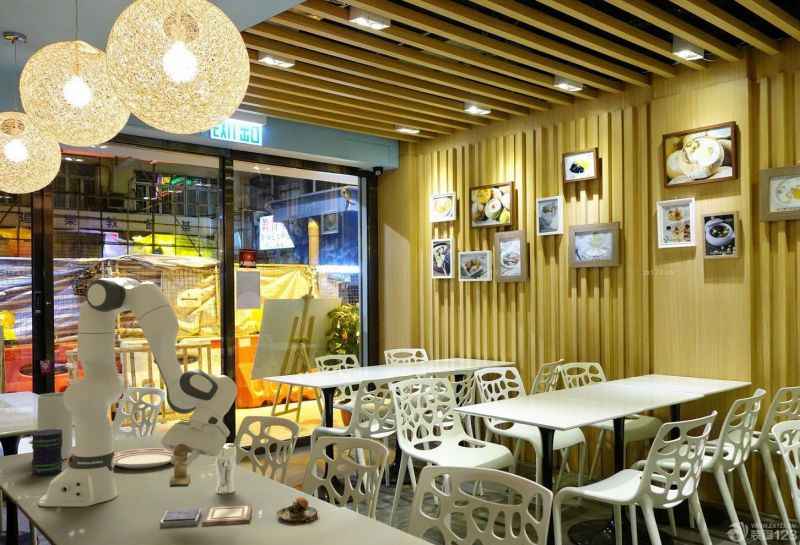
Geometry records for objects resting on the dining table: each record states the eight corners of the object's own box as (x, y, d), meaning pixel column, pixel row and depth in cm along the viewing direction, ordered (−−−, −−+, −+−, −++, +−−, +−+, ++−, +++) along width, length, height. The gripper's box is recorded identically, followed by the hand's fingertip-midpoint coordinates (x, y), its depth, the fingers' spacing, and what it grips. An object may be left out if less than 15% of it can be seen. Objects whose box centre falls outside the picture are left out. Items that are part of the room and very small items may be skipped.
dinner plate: (155, 451, 277) (155, 443, 277) (196, 461, 261) (196, 452, 261) (91, 465, 255) (91, 456, 255) (133, 476, 239) (133, 467, 239)
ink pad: (159, 527, 186) (159, 520, 186) (166, 515, 196) (166, 509, 196) (196, 525, 188) (197, 518, 188) (201, 513, 198) (201, 507, 198)
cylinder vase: (66, 452, 274) (67, 391, 275) (76, 458, 265) (77, 395, 266) (33, 457, 266) (34, 394, 267) (41, 463, 257) (42, 398, 257)
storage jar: (64, 468, 249) (64, 428, 249) (59, 475, 239) (60, 433, 240) (34, 471, 246) (35, 430, 246) (28, 478, 236) (29, 435, 237)
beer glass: (230, 495, 216) (230, 448, 217) (210, 493, 218) (210, 447, 218) (239, 489, 223) (239, 443, 223) (220, 487, 224) (220, 442, 225)
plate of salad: (281, 511, 201) (281, 486, 201) (320, 511, 200) (320, 486, 201) (272, 525, 189) (272, 498, 189) (314, 525, 188) (314, 499, 189)
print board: (202, 525, 188) (202, 521, 188) (207, 510, 200) (207, 506, 201) (249, 522, 190) (249, 518, 190) (251, 508, 203) (251, 504, 203)
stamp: (169, 487, 189) (170, 446, 190) (172, 482, 194) (173, 442, 195) (187, 486, 190) (189, 445, 191) (190, 481, 195) (191, 441, 196)
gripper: (172, 414, 204) (146, 453, 194) (225, 421, 195) (201, 462, 186) (182, 426, 207) (157, 465, 198) (234, 433, 199) (211, 474, 190)
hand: (179, 463), depth 192 cm, fingers closed on stamp, 3 cm apart
